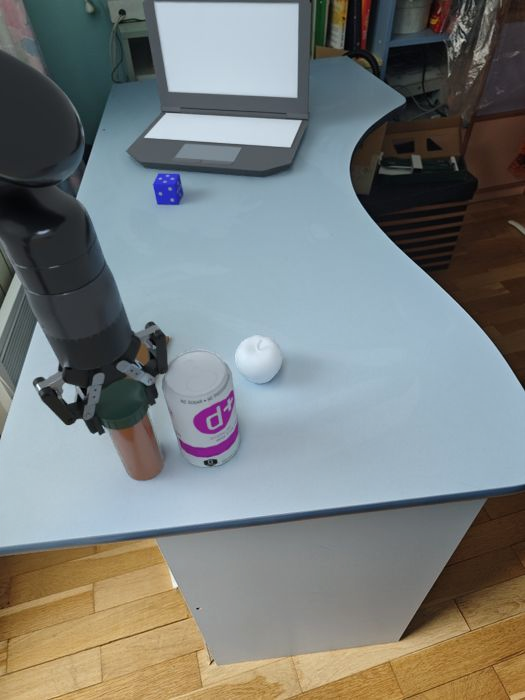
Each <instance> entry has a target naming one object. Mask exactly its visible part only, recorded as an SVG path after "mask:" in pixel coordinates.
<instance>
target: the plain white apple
mask: <svg viewBox="0 0 525 700" xmlns="http://www.w3.org/2000/svg"><path fill="white" fill-rule="evenodd" d="M234 361H235V362H234V363H235V365H236V367H237V370H238V372H240V373H241V374H242V376H243V377H244V378H246V379H247V380H248V381H250V382H251V383H253V384H258V385H259V384H267V383H269V382H270V381H271V380H273V379H274V378H275V376H276V375H277V374H278V372H279V371H280V369H281V368H282V365H283V352H282V349H281V347H280V345H279V343H278V342H277V341H276V340H275V339H273V338H272V337H269V336H265V335H262V334H254V335H252V336H249V337H246V338H244V339H243V340H242V341H241V342H240V343H239V345H238V347H237V348H236V350H235V355H234Z"/></svg>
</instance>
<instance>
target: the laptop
mask: <svg viewBox="0 0 525 700" xmlns="http://www.w3.org/2000/svg"><path fill="white" fill-rule="evenodd" d="M141 5H142V9H143V14H144V20H145V25H146V31H147V37H148V42H149V47H150V53H151V58H152V64H153V69H154V76H155V80H156V86H157V91H158V97H159V98H158V99H159V103H160V108H159V109H160V114H158V115H157V117H155V118H154V120H153V121H152V122H151V123H149V125H148V126H147V127H146V128H145V130H144V131H143V132H142V133H141V134H140V135H139V136H138V137H137V138H136V139H135V141H133V142H132V143H131V145H130V146H129V147H128V148H127V149H126V150H125V153H127V154H128V155H129V156H130V157H131V158H133V159H134V161H136V162H137V163H138V164H140V165H141V167H143V168H145V169H155V170H156V169H157V170H169V171H182V172H192V173H193V172H194V173H205V174H206V173H209V174H210V173H211V174H219V175H231V176H232V175H233V176H246V177H258V178H265V177H269V176H272V175H275V174H279V173H282V172H285V171H286V170H287V169H288V168H289V167H290V165H291V164H292V162H293V160H294V157H295V154H296V152H297V149H298V147H299V145H300V143H301V140H302V138H303V135H304V133H305V130H306V128H307V126H308V123H309V121H310V112H309V104H310V99H309V98H310V69H311V38H312V37H311V35H312V8H313V7H312V5H313V4H312V2H311V1H310V0H143V1H142V4H141Z"/></svg>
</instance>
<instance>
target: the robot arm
mask: <svg viewBox="0 0 525 700" xmlns="http://www.w3.org/2000/svg"><path fill="white" fill-rule="evenodd" d="M85 137H86V136H85V132H84V126H83V123H82V119H81V117H80V114H79V112H78V111H77V109H76V107H75V105H74V103H73V102H72V100H71V99H70V98H69V96H68V95H67V94H66V92H65V91H63V89H62V88H61V87H60V86H59V85H58V84H57V83H56V82H55V81H53V80H52V79H51V78H50V77H49V76H47V75H46V74H45V73H43V72H41V71H40V70H39V69H37V68H36V67H35V66H32V65H31V64H29V63H28V62H26V61H25V60H22V59H20V58H19V57H17V56H15V55H13V54H11V53H9V52H7V51H5V50H3V49H2V48H0V244H1V245H2V247H3V249H4V252H5V254H6V256H7V258H8V260H9V262H10V264H11V267H12V268H13V270H14V272H15V274H16V275H17V278H18V280H19V282H20V283H21V285H22V287H23V290H24V293H25V298H26V300H27V303H28V305H29V307H30V309H31V311H32V315H33V318H34V320H35V321H36V322H37V323H38V324H39V326H40V328H41V330H42V332H43V334H44V336H45V338H46V339H47V342H48V344H49V345H50V347H51V349H52V351H53V354H54V355H55V357H56V359H57V361H58V366H57V372H56V373H54V374H52V375H50V376H49V377H47V378H45V377H44V376H38V377H36V378H34V379H33V381H32V385H33V387H34V389H35V391H36V393H37V394H38V396H39V398H40V400H41V402H43V403H44V404H45V405H46V406H47V408H49V410H50V411H52V413H53V414H55V416H57V417H58V419H59V420H61V422H62V423H63V424H65V426H72V425H73V424H75V423H76V421H77V420H83V422H84V424H85V426H86V427H87V429H88V431H89V433H90V434H92V435H95V434H97V433H98V436H102V435H104V434H105V433H106V429H105V428H104V426H102V424H101V422H100V420H99V418H98V416H97V414H96V413H95V406H96V403H99V398H100V392H101V390H103V389H105V388H107V387H108V386H110V385H111V384H112V383H113V382H116V381H119V380H122V379H124V378H125V377H127V375H129V376H130V377H132V378H133V379H135V380H137V381H138V382H139V383H140V384H141V385H142V386H143V388H144V389H145V392H146V395H147V396H148V399H149V407H153V406H154V405H156V404H157V401H156V399H158V398H159V392H158V388H157V385H156V378H157V377H158V376H159V375H164V374H165V373H166V372H167V371H168V364H169V361H168V350H167V349H168V348H167V347H168V345H167V346H166V336H167V335H166V334H165V332H163V330H162V329H161V328H160V327H159V326H158V325H157V324H156V323H155V322H154V321H153V320H152V321H148V322H147V323H146V324H145V326H144V329H142V330H140V331H137V332H135V331H133V328H132V326H131V323H130V320H129V317H128V315H127V312H126V308H125V305H124V302H123V300H122V296H121V294H120V290H119V288H118V285H117V281H116V279H115V276H114V274H113V272H112V270H111V268H110V267H109V265H108V263H107V260H106V258H105V255H104V252H103V249H102V246H101V243H100V241H99V237H98V234H97V232H96V229H95V226H94V223H93V220H92V218H91V216H90V214H89V212H88V210H87V208H86V207H85V206H84V204H83V203H82V202H81V201H80V200H78V199H77V198H76V197H74V196H73V195H72V194H70V193H68V192H66V191H64V190H63V189H61V188H60V187H59V186H57V185H58V184H60V183H62V182H64V181H66V180H67V179H68V178H69V177H71V176H72V175H73V174H74V173H75V172H76V170H77V169H78V167H79V165H80V164H81V162H82V159H83V156H84V152H85V145H86V144H85V143H86V142H85V140H86V138H85ZM141 344H144V345H145V346H146V347H147V351H148V360H149V361H148V362H147V363H146V364H145V365H144V364H142V363H141V362H139V361H138V360H136V356H137V354H138V352H139V349H140V347H141ZM65 384H68V385H70V386H71V385H72V386H74V389H75V393H74V394H75V395H74V402H70V403H68V402H67V401H66V400H65V399H64V398H63V394H64V388H63V386H64V385H65Z"/></svg>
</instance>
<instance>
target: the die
mask: <svg viewBox="0 0 525 700" xmlns="http://www.w3.org/2000/svg"><path fill="white" fill-rule="evenodd" d="M152 187H153V191H154V195H155V200H156V205H172V206H173V205H174V206H176V205H177V206H178V205H179V204H180V202H181V200H182V197H183V195H184V192H183V191H184V190H183V185H182V180H181V174H180V173H166V172H165V173H159V172H158V173H157V175H156V177H155V179H154V180H153V183H152Z"/></svg>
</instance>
